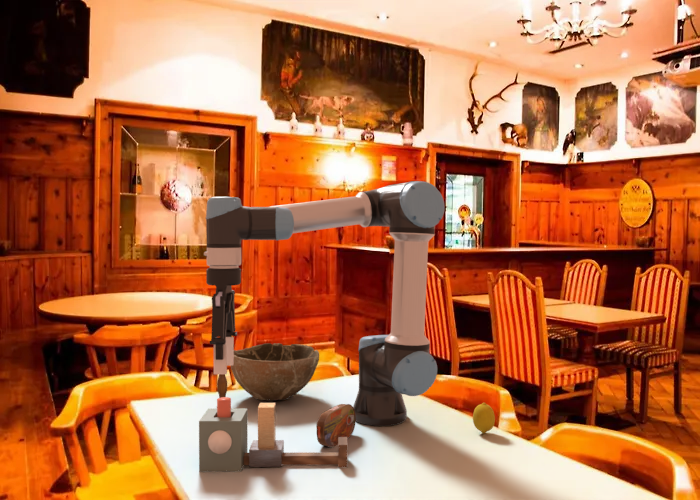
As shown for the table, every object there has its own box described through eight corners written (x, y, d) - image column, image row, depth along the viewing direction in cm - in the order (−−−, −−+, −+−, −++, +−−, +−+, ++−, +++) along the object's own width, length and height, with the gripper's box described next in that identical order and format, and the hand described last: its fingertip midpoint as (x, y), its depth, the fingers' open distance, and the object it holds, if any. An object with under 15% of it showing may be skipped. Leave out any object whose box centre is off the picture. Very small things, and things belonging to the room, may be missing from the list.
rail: (346, 458, 135) (347, 437, 134) (347, 467, 130) (347, 444, 129) (246, 458, 134) (246, 437, 134) (242, 467, 129) (242, 445, 129)
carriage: (283, 456, 135) (283, 401, 134) (281, 467, 129) (281, 409, 128) (253, 456, 135) (253, 401, 134) (249, 467, 129) (249, 409, 128)
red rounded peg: (232, 432, 133) (232, 397, 133) (229, 436, 130) (229, 400, 130) (218, 432, 133) (218, 397, 133) (215, 436, 130) (215, 400, 130)
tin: (324, 452, 139) (325, 416, 139) (313, 449, 140) (313, 414, 140) (356, 433, 152) (357, 400, 151) (346, 431, 153) (346, 399, 153)
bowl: (329, 390, 193) (329, 344, 192) (305, 415, 166) (305, 362, 166) (250, 384, 199) (250, 340, 198) (215, 407, 173) (214, 357, 172)
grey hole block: (247, 455, 136) (247, 408, 136) (240, 472, 127) (240, 421, 126) (208, 455, 136) (208, 408, 136) (198, 472, 127) (198, 421, 126)
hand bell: (231, 441, 146) (231, 377, 145) (200, 438, 147) (200, 375, 147) (244, 430, 154) (244, 369, 153) (214, 427, 155) (214, 367, 155)
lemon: (496, 431, 153) (496, 401, 153) (492, 438, 148) (492, 407, 148) (475, 428, 155) (475, 398, 155) (470, 435, 150) (470, 404, 150)
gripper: (216, 264, 140) (216, 359, 141) (195, 269, 120) (195, 381, 121) (247, 264, 140) (248, 359, 141) (232, 270, 120) (232, 381, 121)
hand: (224, 369), depth 131 cm, fingers open, 8 cm apart
